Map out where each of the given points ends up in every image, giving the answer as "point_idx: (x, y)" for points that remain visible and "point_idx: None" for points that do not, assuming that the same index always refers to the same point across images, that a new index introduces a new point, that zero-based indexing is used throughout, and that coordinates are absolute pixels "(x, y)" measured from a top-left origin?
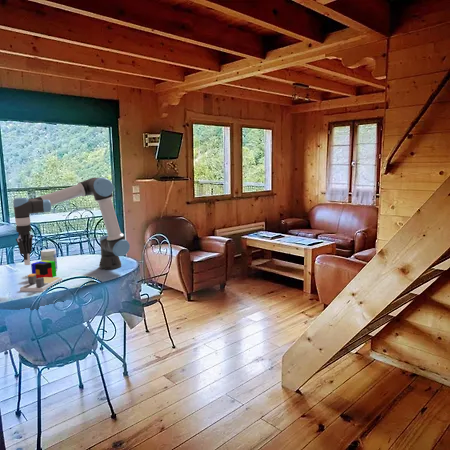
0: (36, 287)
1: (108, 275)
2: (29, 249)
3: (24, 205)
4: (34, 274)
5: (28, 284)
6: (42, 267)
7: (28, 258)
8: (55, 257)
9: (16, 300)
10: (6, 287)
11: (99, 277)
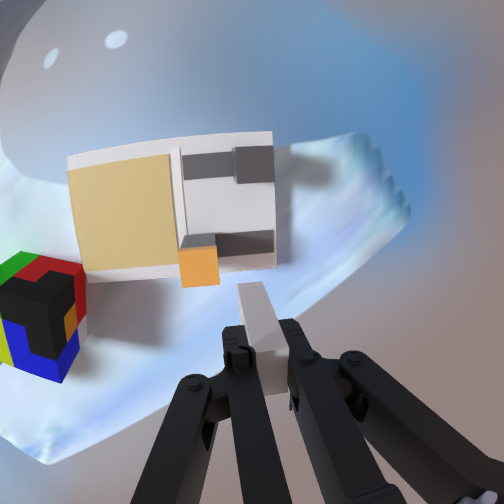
0: None
1: (4, 15)
2: (241, 397)
3: None
4: (195, 250)
5: None
6: (55, 302)
7: (271, 316)
8: None
9: (392, 186)
10: None
11: (24, 23)
